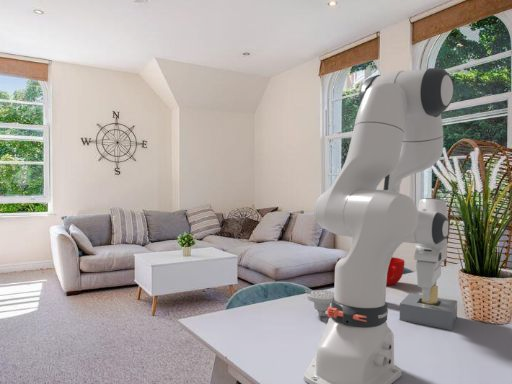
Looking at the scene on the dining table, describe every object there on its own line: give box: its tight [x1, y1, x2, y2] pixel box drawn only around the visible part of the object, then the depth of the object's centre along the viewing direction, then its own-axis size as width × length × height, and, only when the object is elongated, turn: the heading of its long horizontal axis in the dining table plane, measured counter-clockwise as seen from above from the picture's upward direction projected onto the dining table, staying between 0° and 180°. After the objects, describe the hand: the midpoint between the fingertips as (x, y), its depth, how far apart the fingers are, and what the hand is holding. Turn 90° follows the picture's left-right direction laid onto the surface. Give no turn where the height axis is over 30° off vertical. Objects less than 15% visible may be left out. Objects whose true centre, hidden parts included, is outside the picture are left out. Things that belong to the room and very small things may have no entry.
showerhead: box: [305, 289, 334, 317], centre depth 119 cm, size 9×7×10 cm
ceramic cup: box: [386, 256, 405, 286], centre depth 159 cm, size 13×17×10 cm
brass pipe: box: [421, 284, 439, 306], centre depth 118 cm, size 4×4×10 cm
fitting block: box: [399, 292, 458, 331], centre depth 118 cm, size 14×14×5 cm
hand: (429, 296), depth 118 cm, fingers open, 8 cm apart
